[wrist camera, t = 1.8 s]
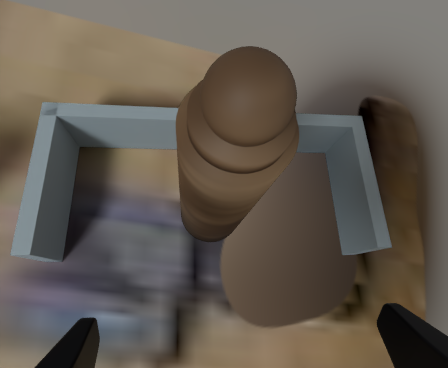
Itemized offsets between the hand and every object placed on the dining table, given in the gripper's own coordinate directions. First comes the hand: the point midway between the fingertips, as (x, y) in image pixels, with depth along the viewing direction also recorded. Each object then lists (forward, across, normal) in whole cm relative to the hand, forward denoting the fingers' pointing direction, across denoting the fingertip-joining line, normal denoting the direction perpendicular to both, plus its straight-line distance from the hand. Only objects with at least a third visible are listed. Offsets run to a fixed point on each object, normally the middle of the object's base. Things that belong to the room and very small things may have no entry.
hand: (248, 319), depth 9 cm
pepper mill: (+13, 0, +4) cm, 14 cm away
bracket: (+14, 0, +3) cm, 15 cm away
